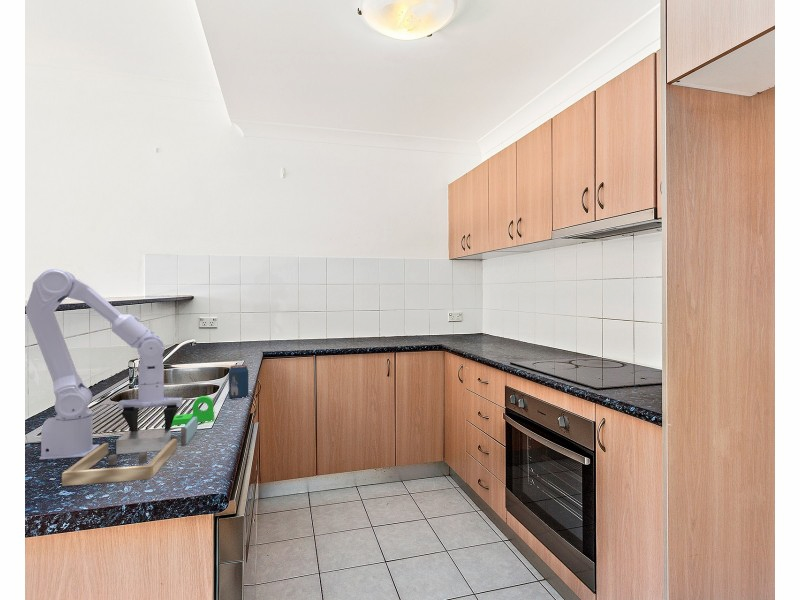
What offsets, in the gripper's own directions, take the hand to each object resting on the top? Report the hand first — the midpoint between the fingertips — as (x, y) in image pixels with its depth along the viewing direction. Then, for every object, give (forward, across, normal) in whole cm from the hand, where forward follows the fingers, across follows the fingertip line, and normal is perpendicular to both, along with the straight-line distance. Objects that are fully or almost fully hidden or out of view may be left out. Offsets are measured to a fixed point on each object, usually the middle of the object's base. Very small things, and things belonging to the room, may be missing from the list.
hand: (151, 435), depth 115 cm
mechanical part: (+2, +6, +18) cm, 19 cm away
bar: (+2, +9, -6) cm, 11 cm away
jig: (+2, 0, -17) cm, 17 cm away
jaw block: (+2, 0, -5) cm, 5 cm away
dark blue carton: (+2, +15, +49) cm, 51 cm away
